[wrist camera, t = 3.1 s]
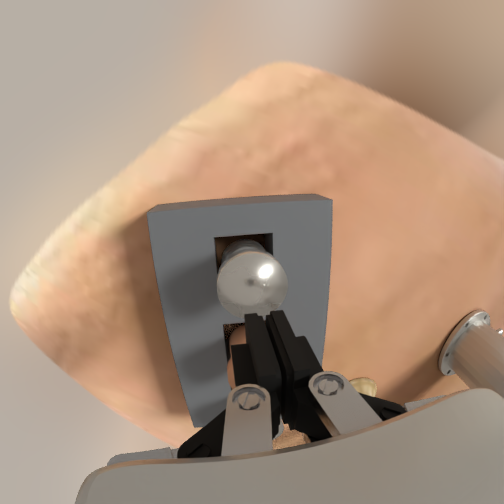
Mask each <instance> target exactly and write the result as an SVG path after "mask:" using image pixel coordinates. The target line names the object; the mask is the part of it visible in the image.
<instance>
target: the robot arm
mask: <svg viewBox="0 0 504 504" xmlns="http://www.w3.org/2000/svg"><path fill="white" fill-rule="evenodd" d="M265 319H266V325H265V322H264V319H263V316H258V314H257V313H250V314H244V320H245V334H246V344H236V345H230V346H231V355H232V363H233V371H234V379H235V386H236V388H234V389H233V390H232V391H231V392H230V393H229V395H228V398H227V406H226V409H225V410H223V411H222V412H221V413H220V414H219V415H218V416H216V417H215V418H214V419H213V420H212V421H210V422H209V423H208V424H207V425H206V426H204V427H203V428H202V429H201V430H199V431H198V432H197V433H196V434H194V435H193V436H192V437H191V438H189V439H188V440H187V441H185V442H184V443H183V444H182V445H181V446H180V447H179V448H177V449H172V450H171V449H170V447H168V448H163V449H157V450H150V451H144V452H135V453H127V454H120V455H116V456H114V457H113V458H111V459H110V461H109V462H108V464H107V466H105V467H102V468H100V469H97V470H95V471H94V472H92V473H91V474H89V475H88V476H87V478H86V479H85V480H84V482H83V484H82V485H81V488H80V490H79V492H78V495H77V498H76V502H75V504H504V337H503V336H502V333H503V331H502V329H501V328H500V329H497V330H495V329H493V328H492V327H491V326H490V316H489V315H488V313H487V312H485V311H484V310H476V311H473V312H472V313H470V314H469V315H467V316H466V317H465V318H464V319H463V320H462V321H461V322H460V323H459V324H458V325H457V326H456V328H455V329H454V330H453V332H452V333H451V334H450V336H449V338H448V339H447V341H446V343H445V345H444V347H443V349H442V351H441V354H440V357H439V364H438V365H439V369H440V371H441V372H442V373H443V374H444V375H453V374H457V375H458V376H459V377H460V378H461V379H462V380H463V381H464V383H465V384H466V385H467V386H468V387H469V388H470V389H466V390H462V391H458V392H455V393H452V394H449V395H442V396H437V397H433V398H429V399H424V400H419V401H414V402H408V403H405V404H404V406H401V405H399V404H397V403H394V402H390V401H386V400H383V399H379V398H376V397H372V396H369V395H366V394H362V393H359V392H357V391H356V390H355V388H354V387H353V386H352V385H351V384H350V382H349V381H348V380H347V379H346V378H345V377H344V376H343V375H341V374H339V373H337V372H332V371H323V369H322V367H321V365H320V363H319V361H318V359H317V357H316V356H315V354H314V352H313V350H312V348H311V346H310V344H309V342H308V340H307V338H306V337H305V336H298V337H296V336H295V334H294V332H293V330H292V328H291V326H290V324H289V321H288V319H287V317H286V315H285V313H284V311H283V310H276V311H270V315H266V317H265ZM280 417H282V420H283V423H284V424H287V423H288V424H289V428H290V430H294V429H295V430H297V431H299V432H302V436H303V439H304V441H305V442H306V444H303V445H298V446H293V447H288V448H283V449H277V450H273V447H272V440H273V438H274V437H275V436H276V435H277V434H278V433H279V425H280Z"/></svg>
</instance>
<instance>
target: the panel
mask: <svg viewBox="0 0 504 504" xmlns="http://www.w3.org/2000/svg"><path fill="white" fill-rule="evenodd" d="M332 203H333V200H332V199H329V198H326V197H323V196H320V195H317V194H294V195H272V196H254V197H239V198H225V199H212V200H200V201H189V202H179V203H169V204H160V205H156V206H155V207H154V208H152V209H151V210H150V211H148V212H147V219H148V227H149V234H150V241H151V248H152V255H153V261H154V267H155V273H156V278H157V284H158V289H159V294H160V299H161V304H162V309H163V314H164V319H165V323H166V328H167V332H168V336H169V341H170V345H171V349H172V353H173V357H174V361H175V364H176V368H177V372H178V376H179V379H180V383H181V386H182V390H183V393H184V397H185V400H186V403H187V406H188V410H189V413H190V416H191V419H192V422H193V425H194V427H204V426H206V425H207V424H208V423H209V422H210V421H212V420H213V419H214V418H215V417H216V416H218V415H219V414H220V413H221V412H222V411H223V410H225V409H226V406H227V398H228V395H229V393H230V392H231V391H232V390H233V389H232V388H231V386H230V385H229V382H228V374H227V365H228V362H229V360H230V358H231V353H230V344H229V339H225V333H224V324H233V323H243V322H245V320H244V318H240V317H237V316H235V315H233V314H231V313H229V312H228V311H227V310H226V309H225V308H224V307H223V306H222V304H221V302H220V300H219V298H218V294H217V274H218V266H217V256H216V244H215V237H224V236H237V235H249V234H262V233H264V238H265V251H266V252H268V253H270V254H271V255H273V256H274V257H275V258H276V259H277V260H278V262H279V263H280V265H281V266H282V268H283V270H284V271H285V273H286V276H287V280H288V289H287V294H286V296H285V299H284V300H283V302H282V303H281V305H280V306H279V307H278V308H277V309H276V310H283V311H284V313H285V315H286V317H287V319H288V321H289V324H290V326H291V328H292V330H293V332H294V334H295V336H296V337H298V336H305V337H306V338H307V340H308V342H309V344H310V346H311V348H312V350H313V352H314V354H315V356H316V357H317V359H318V361H319V363H320V365H321V367H322V359H323V351H324V342H325V333H326V322H327V311H328V299H329V285H330V268H331V247H332ZM276 310H275V311H276ZM269 315H270V314H269ZM265 317H266V316H264V317H263V319H264V320H266V319H265ZM281 419H282V417H281Z"/></svg>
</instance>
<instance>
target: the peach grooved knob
mask: <svg viewBox="0 0 504 504" xmlns="http://www.w3.org/2000/svg"><path fill="white" fill-rule="evenodd" d="M229 344H230V345H236V344H246V334H245V324H243V325H241V326H239V327H237V328H236V329H235V330H234V331H233V332H232V333H231V335H230V338H229ZM230 353H231V346H230ZM227 374H228V382H229V385H230V386H231V388H232V389H234V388H236V386H235V379H234V371H233V363H232V355H231V358H230V360H229V362H228V365H227Z"/></svg>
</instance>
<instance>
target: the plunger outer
mask: <svg viewBox="0 0 504 504" xmlns="http://www.w3.org/2000/svg"><path fill="white" fill-rule="evenodd" d="M221 264H222V265H221V266H220V268H219V271H218V274H217V294H218V298H219V300H220V302H221V304H222V306H223V307H224V308H225V309H226V310H227V311H228V312H229V313H231V314H233V315H235V316H237V317H240V318H244V314H250V313H257V314H258V316H263V317H264V316H266V315H269V314H270V311H275V310H276V309H277V308H278V307H279V306H280V305H281V303H282V302H283V300H284V299H285V296H286V294H287V289H288V280H287V276H286V273H285V271H284V270H283V268H282V266H281V265H280V263H279V262H278V260H277V259H276V258H275V257H274V256H273V255H271V254H270V253H268V252H266V251H265V249H264V248H263V246H262V245H261V244H259V243H258V242H256V241H254V240H251V239H239V240H236V241H234V242H232V243H231V244H229V245H228V246H227V247H226V249H225V250H224V252H223V254H222V259H221Z"/></svg>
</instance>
